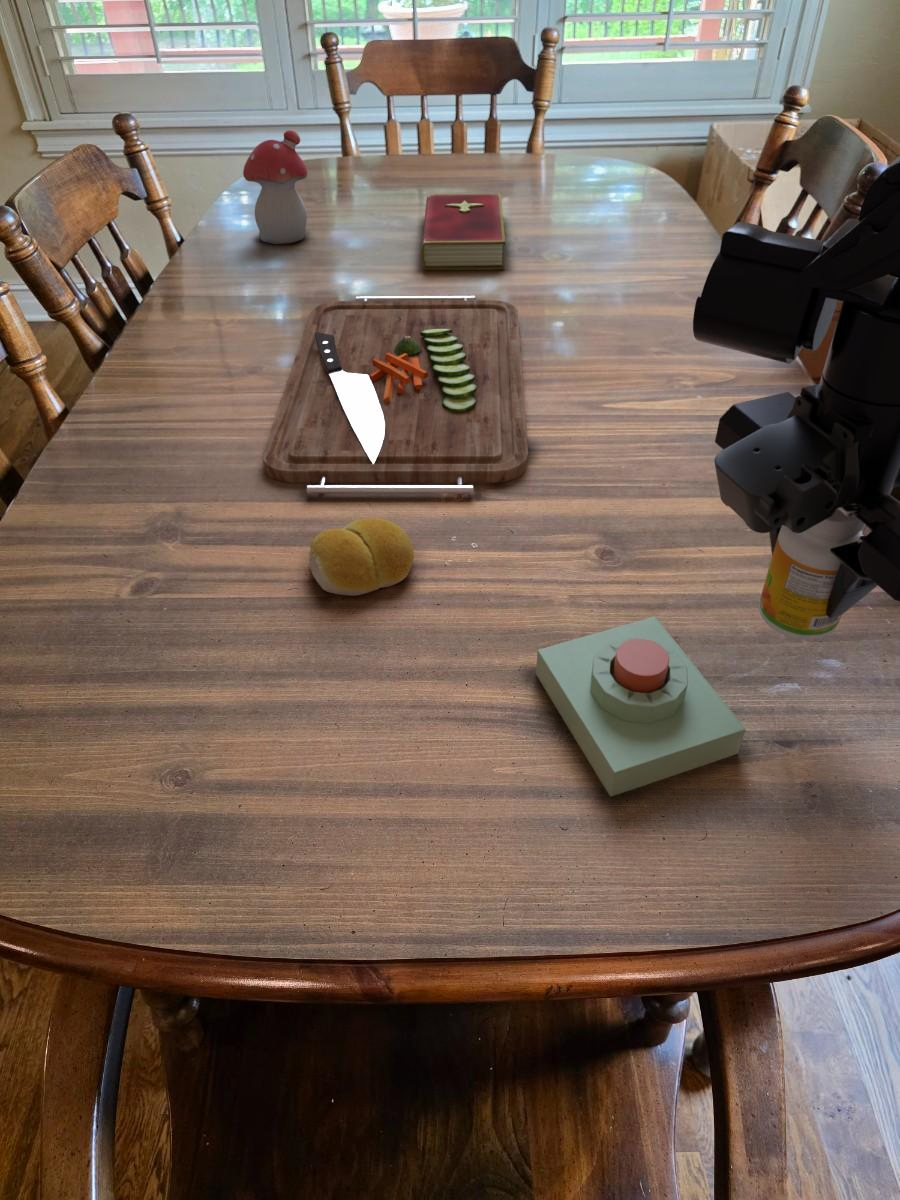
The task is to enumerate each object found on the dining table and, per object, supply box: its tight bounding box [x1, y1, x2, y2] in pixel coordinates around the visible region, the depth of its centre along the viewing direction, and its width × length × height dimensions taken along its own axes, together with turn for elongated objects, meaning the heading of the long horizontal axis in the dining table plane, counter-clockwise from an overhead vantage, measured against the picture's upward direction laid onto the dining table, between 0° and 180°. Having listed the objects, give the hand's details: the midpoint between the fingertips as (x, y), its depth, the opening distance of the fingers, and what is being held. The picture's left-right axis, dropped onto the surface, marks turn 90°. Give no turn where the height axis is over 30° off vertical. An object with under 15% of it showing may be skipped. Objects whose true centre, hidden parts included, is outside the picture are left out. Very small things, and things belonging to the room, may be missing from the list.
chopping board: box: [262, 295, 529, 495], centre depth 99 cm, size 45×27×3 cm, turn 179°
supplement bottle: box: [758, 509, 865, 641], centre depth 58 cm, size 5×5×10 cm
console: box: [535, 616, 746, 798], centre depth 62 cm, size 10×12×4 cm
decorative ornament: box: [242, 129, 308, 245], centre depth 131 cm, size 9×6×15 cm
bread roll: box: [307, 517, 415, 597], centre depth 75 cm, size 8×9×4 cm
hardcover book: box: [420, 192, 506, 271], centre depth 132 cm, size 12×21×4 cm, turn 179°
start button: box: [613, 639, 669, 693], centre depth 60 cm, size 4×4×2 cm
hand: (806, 588), depth 59 cm, fingers closed on supplement bottle, 5 cm apart
